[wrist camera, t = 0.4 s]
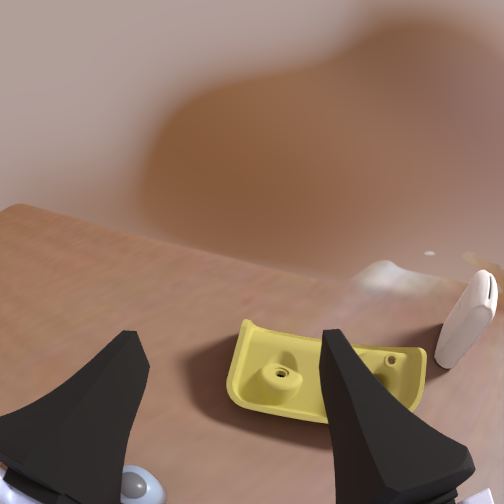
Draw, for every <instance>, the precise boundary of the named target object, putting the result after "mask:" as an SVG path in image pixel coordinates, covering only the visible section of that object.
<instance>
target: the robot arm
mask: <svg viewBox="0 0 504 504" xmlns="http://www.w3.org/2000/svg"><path fill="white" fill-rule="evenodd" d="M149 368H150V365H149V362H148V360H147V357H146V355H145V352H144V350H143V347H142V345H141V342H140V339H139V337H138V334H137V331H126V330H123V331H122V332H121V333H120V334H119V335H117V336H116V337H115V338H114V339H113V340H112V341H111V342H110V343H109V344H108V345H107V346H106V347H105V348H103V349H102V350H101V351H100V352H99V353H98V354H97V355H96V356H95V357H94V358H93V359H92V360H91V361H89V362H88V363H87V364H86V365H85V366H84V367H83V368H81V369H80V370H79V371H78V372H77V373H75V374H74V375H73V376H72V377H71V378H70V379H68V380H67V381H66V382H64V383H63V384H62V385H60V386H59V387H57V388H56V389H55V390H53V391H52V392H50V393H48V394H47V395H45V396H43V397H42V398H40V399H38V400H37V401H35V402H33V403H31V404H29V405H27V406H25V407H23V408H21V409H19V410H17V411H14V412H12V413H9V414H6V415H4V416H1V417H0V461H1V462H3V463H4V464H5V465H6V466H7V467H8V469H7V471H5V470H3V469H2V468H1V467H0V504H121V484H122V473H123V466H124V459H125V453H126V448H127V442H128V438H129V434H130V431H131V428H132V425H133V422H134V419H135V416H136V413H137V410H138V407H139V405H140V402H141V399H142V396H143V393H144V390H145V387H146V383H147V378H148V373H149ZM319 376H320V385H321V392H322V397H323V401H324V406H325V411H326V415H327V420H328V424H329V429H330V434H331V439H332V445H333V456H334V469H335V487H336V504H456V503H455V499H454V498H456V497H457V496H458V493H457V490H456V487H458V486H459V485H460V484H462V483H463V482H464V481H466V480H467V479H468V478H469V477H470V476H471V475H473V473H474V471H475V466H474V463H473V460H472V457H471V455H470V453H469V451H468V448H467V447H466V446H464V445H462V444H460V443H458V442H456V441H454V440H452V439H451V438H449V437H447V436H445V435H443V434H442V433H440V432H438V431H437V430H435V429H434V428H432V427H431V426H429V425H428V424H427V423H425V422H424V421H422V420H421V419H420V418H418V417H417V416H416V415H414V414H413V413H412V412H411V411H409V410H408V409H407V408H406V407H405V406H404V405H403V404H401V403H400V402H399V401H398V400H397V399H396V398H395V397H394V396H393V395H392V394H391V393H390V392H389V391H388V390H387V389H386V388H385V387H384V386H383V385H382V384H381V383H380V381H379V380H378V379H377V378H376V377H375V376H374V375H373V373H372V372H371V371H370V370H369V369H368V367H367V366H366V365H365V363H364V362H363V361H362V360H361V358H360V357H359V356H358V354H357V353H356V352H355V350H354V349H353V348H352V346H351V345H350V343H349V342H348V340H347V339H346V337H345V336H344V334H343V333H342V331H341V330H340V329H332V330H323V335H322V344H321V352H320V360H319ZM457 504H494V502H493V498H492V495H491V492H490V489H488V488H487V489H485V490H483V491H482V492H480V493H478V494H475V495H473V496H471V497H469V498H467V499H465V500H463V501H461V502H459V503H457Z"/></svg>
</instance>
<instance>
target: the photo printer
mask: <svg viewBox="0 0 504 504" xmlns="http://www.w3.org/2000/svg"><path fill="white" fill-rule="evenodd" d="M497 294H498V292H497V285H496V281H495V278H494V277H493V275H492V274H491V273H488V272H487V271H486V270H481V271H479V272H477V273H476V274H474V276H473V277H472V279H471V280H470V282H469V284H468V285H467V287H466V289H465V290H464V292H463V294H462V295H461V297H460V298H459V300H458V302H457V303H456V305H455V306H454V308H453V309H452V311H451V312H450V314H449V315H448V317H447V318H446V320H445V322H444V324H443V327H442V330H441V333H440V336H439V339H438V343H437V347H436V350H435V356H434V358H435V359H436V362H437V363H438V364H439V365H440V366H441V367H443V368H446V369H449V368H454V367H455V366H456V365H457V364H458V363H459V362H460V360H461V359H462V358H463V357H464V356H465V355H466V353H467V352H468V351H469V350H470V349H471V347H472V346H473V345H474V344H475V342H476V341H477V340H478V339H479V337H480V336H481V335H482V334H483V332H484V331H485V330H486V328H487V327H488V326H489V324H490V323H491V321H492V319H493V317H494V315H495V311H496V305H497V297H498V295H497Z"/></svg>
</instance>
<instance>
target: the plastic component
mask: <svg viewBox="0 0 504 504" xmlns="http://www.w3.org/2000/svg"><path fill="white" fill-rule="evenodd" d="M321 344H322V340H320V339H315V338H309V337H303V336H298V335H293V334H287V333H282V332H277V331H272V330H267V329H263V328H260V327H257V326H255V325H254V324H253V323H252V322H251V321H250V320H246V319H244V321H243V323H242V326H241V329H240V333H239V337H238V340H237V344H236V348H235V351H234V355H233V359H232V362H231V366H230V370H229V373H228V377H227V383H226V387H227V391H228V394H229V396H230V398H231V399H232V400H233V401H234V402H235V403H236V404H237V405H239V406H241V407H243V408H246V409H251V410H255V411H259V412H264V413H269V414H274V415H279V416H284V417H289V418H295V419H300V420H306V421H313V422H320V423H327V424H328V420H327V415H326V411H325V406H324V401H323V397H322V392H321V385H320V376H319V360H320V352H321ZM350 345H351V346H352V348H353V349H354V350H355V352H356V353H357V354H358V356H359V357H360V358H361V360H362V361H363V362H364V363H365V365H366V366H367V367H368V369H369V370H370V371H371V372H372V373H373V375H374V376H375V377H376V378H377V379H378V380H379V381H380V383H381V384H382V385H383V386H384V387H385V388H386V389H387V390H388V391H389V392H390V393H391V394H392V395H393V396H394V397H395V398H396V399H397V400H398V401H399V402H400V403H401V404H403V405H404V406H405V407H406V408H407V409H408V410H409V411H411V412H413V411H414V410H415V408H416V407H417V405H418V404H419V402H420V399H421V397H422V394H423V390H424V384H425V375H426V362H427V354H426V352H425V350H424V349H422V348H416V347H379V346H366V345H356V344H350ZM388 359H393V360H394V363H393V364H389V363H388ZM277 375H283V376H284V377H278V376H277Z"/></svg>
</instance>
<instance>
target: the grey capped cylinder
mask: <svg viewBox="0 0 504 504" xmlns="http://www.w3.org/2000/svg"><path fill="white" fill-rule="evenodd" d="M166 500H167V493H166V490H165V488H164V487H163V485H162V484H161V483H159V482H158V481H157V480H156V479H155V478H154V477H153V476H152V475H151V474H150V473H149V472H148V471H146V470H145V469H143V468H141V467H138V466H134V465H126V466H123V473H122V484H121V503H123V504H165V503H166Z"/></svg>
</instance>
